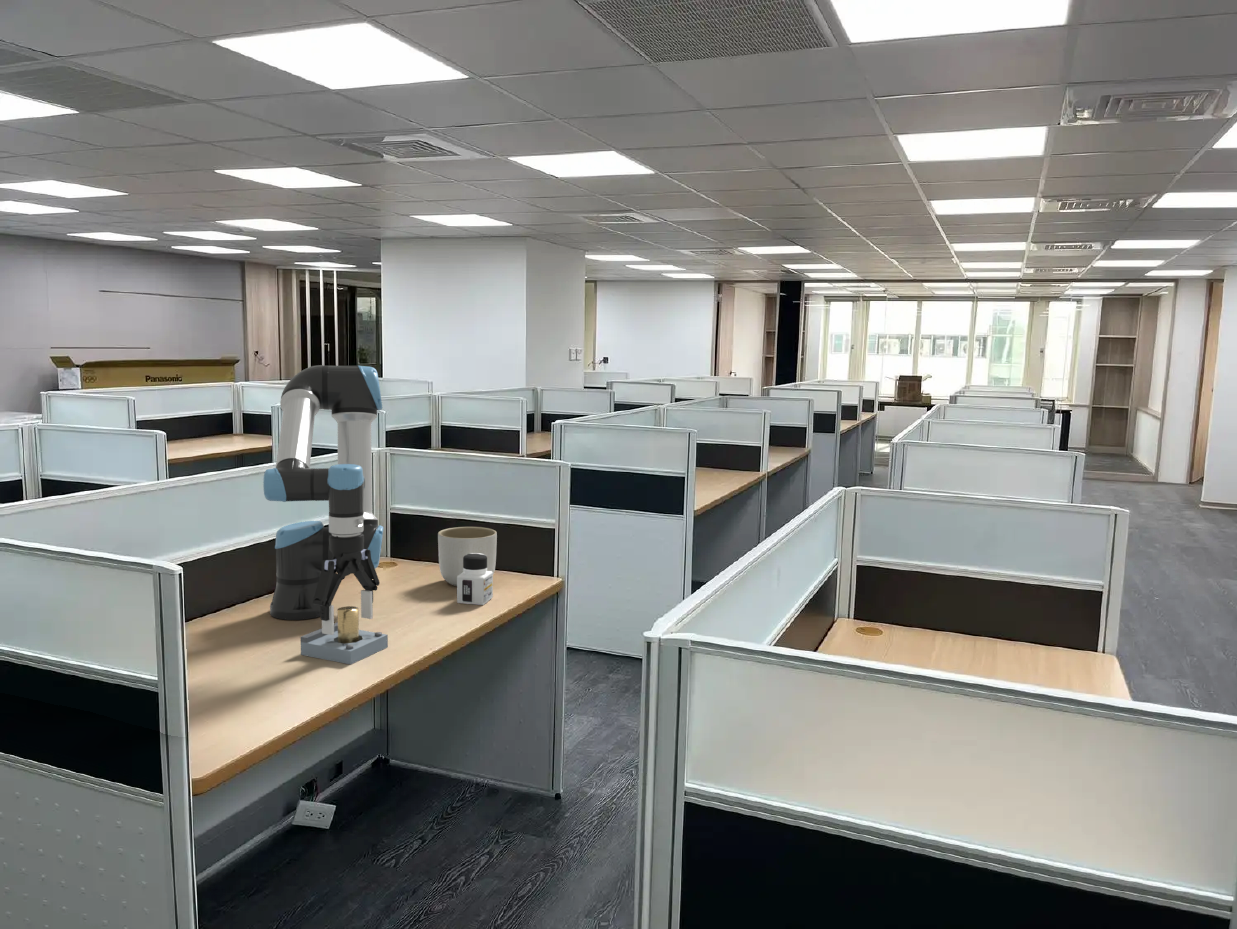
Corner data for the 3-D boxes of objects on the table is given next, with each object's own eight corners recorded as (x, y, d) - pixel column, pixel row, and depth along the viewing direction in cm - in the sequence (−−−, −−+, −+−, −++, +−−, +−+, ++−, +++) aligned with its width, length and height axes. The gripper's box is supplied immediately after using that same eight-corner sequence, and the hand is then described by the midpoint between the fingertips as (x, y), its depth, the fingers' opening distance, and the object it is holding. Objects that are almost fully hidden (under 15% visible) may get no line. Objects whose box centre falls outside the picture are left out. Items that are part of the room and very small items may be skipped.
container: (483, 605, 250) (483, 558, 248) (456, 603, 251) (456, 556, 250) (493, 598, 257) (493, 552, 256) (466, 596, 259) (466, 550, 257)
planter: (508, 581, 276) (508, 531, 274) (471, 593, 261) (471, 541, 259) (463, 573, 284) (463, 524, 282) (426, 584, 270) (425, 533, 268)
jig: (300, 654, 208) (300, 636, 207) (339, 638, 220) (339, 621, 219) (350, 664, 203) (350, 646, 202) (387, 647, 214) (387, 629, 214)
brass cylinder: (333, 653, 210) (332, 610, 208) (347, 647, 214) (346, 605, 213) (350, 656, 208) (349, 613, 207) (363, 650, 212) (362, 607, 211)
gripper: (321, 545, 194) (323, 643, 197) (394, 525, 217) (395, 613, 220) (294, 542, 197) (296, 638, 200) (368, 522, 220) (369, 609, 223)
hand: (348, 625), depth 210 cm, fingers open, 13 cm apart
